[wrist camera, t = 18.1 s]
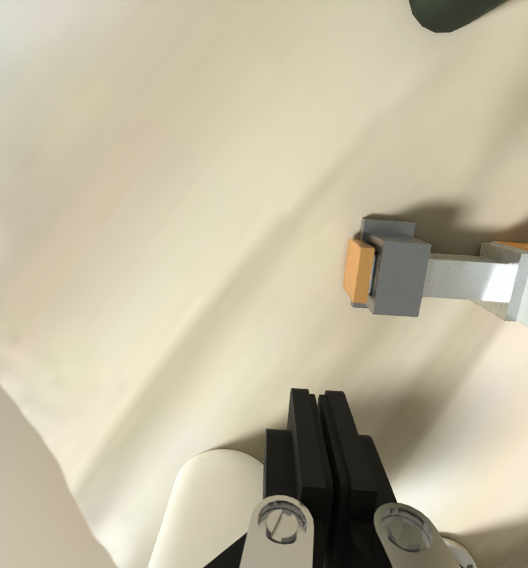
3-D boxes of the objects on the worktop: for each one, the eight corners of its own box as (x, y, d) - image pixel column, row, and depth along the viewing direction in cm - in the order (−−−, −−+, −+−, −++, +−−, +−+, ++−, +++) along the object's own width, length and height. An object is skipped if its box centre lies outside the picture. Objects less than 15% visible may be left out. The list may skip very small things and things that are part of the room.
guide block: (397, 307, 39) (421, 330, 33) (350, 304, 39) (365, 326, 33) (412, 221, 37) (440, 229, 31) (362, 218, 37) (380, 226, 31)
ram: (478, 300, 38) (515, 321, 32) (341, 291, 38) (354, 311, 32) (492, 242, 37) (533, 254, 31) (349, 233, 37) (364, 243, 31)
